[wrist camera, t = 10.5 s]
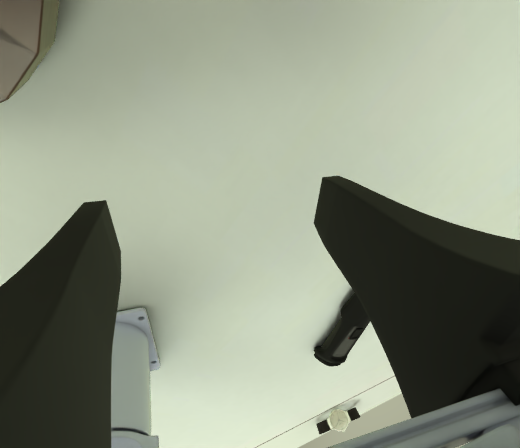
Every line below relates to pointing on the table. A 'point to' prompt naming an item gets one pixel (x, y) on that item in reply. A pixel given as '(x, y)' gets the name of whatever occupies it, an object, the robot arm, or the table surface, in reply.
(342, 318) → the electric trimmer
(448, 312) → the robot arm
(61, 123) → the table surface
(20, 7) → the clock ring
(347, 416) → the watch
